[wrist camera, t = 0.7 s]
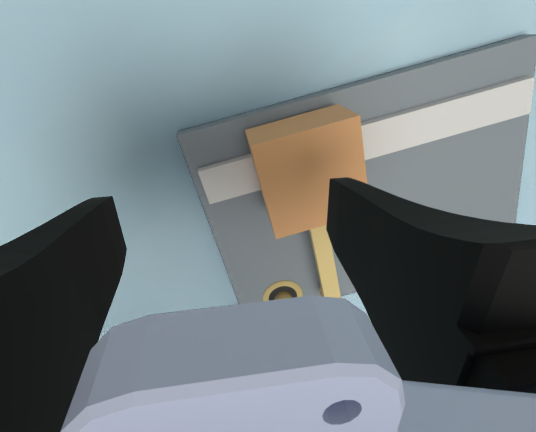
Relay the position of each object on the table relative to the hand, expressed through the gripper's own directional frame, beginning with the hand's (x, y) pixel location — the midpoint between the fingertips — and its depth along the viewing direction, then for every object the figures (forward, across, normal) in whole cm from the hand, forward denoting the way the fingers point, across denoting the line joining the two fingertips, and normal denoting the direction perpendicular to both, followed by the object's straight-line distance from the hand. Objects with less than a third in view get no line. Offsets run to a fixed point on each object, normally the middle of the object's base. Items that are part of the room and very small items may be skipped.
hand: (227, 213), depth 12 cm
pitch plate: (+9, -9, +4) cm, 13 cm away
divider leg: (+7, -5, +5) cm, 10 cm away
